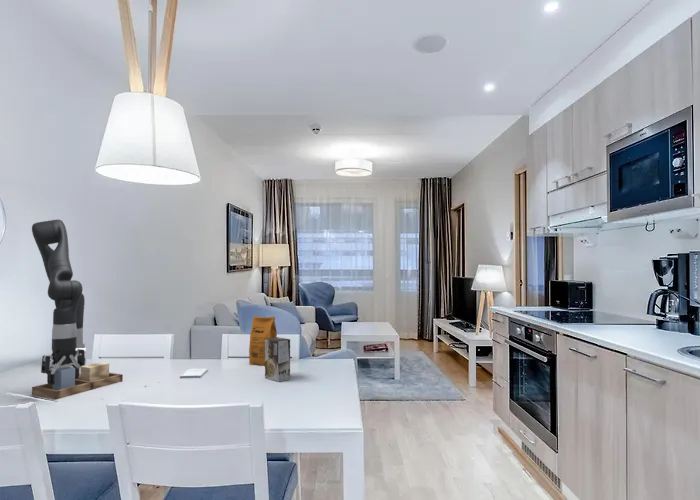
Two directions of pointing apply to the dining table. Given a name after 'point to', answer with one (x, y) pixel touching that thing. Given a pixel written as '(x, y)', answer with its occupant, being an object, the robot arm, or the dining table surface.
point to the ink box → (76, 359)
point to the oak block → (95, 371)
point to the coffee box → (277, 359)
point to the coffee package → (260, 338)
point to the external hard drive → (194, 373)
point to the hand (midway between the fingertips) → (63, 381)
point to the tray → (75, 387)
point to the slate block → (64, 378)
